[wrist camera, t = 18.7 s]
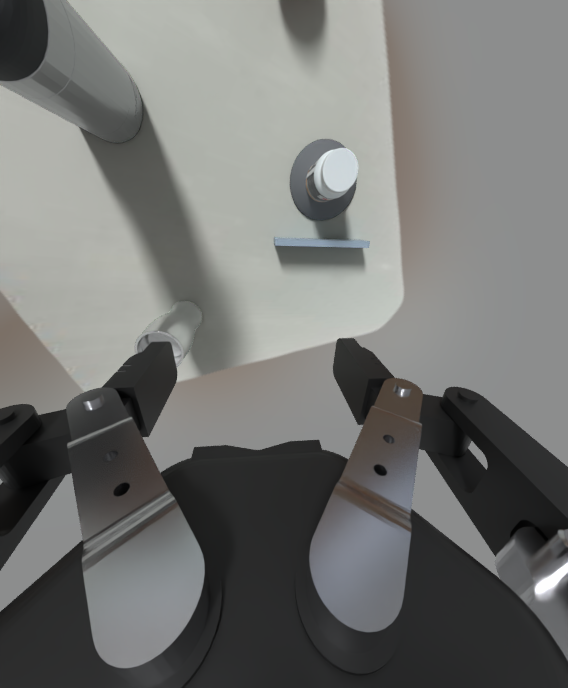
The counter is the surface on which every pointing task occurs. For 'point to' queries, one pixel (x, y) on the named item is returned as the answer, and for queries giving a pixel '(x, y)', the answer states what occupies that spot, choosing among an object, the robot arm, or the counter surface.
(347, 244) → the divider wall
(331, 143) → the mat
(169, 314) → the beer glass
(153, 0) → the counter surface
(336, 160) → the pill bottle
